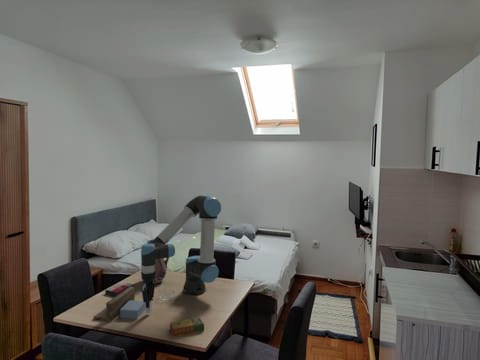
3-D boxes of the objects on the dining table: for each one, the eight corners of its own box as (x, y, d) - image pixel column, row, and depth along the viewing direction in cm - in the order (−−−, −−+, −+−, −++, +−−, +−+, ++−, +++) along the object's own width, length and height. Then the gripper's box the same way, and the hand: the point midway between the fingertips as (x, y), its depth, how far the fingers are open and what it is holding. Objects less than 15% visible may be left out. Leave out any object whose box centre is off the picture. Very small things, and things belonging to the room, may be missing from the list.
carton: (169, 329, 170) (169, 321, 170) (199, 324, 177) (199, 316, 176) (173, 337, 163) (173, 329, 162) (204, 331, 169) (204, 323, 169)
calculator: (104, 289, 213) (122, 280, 227) (105, 295, 214) (122, 286, 227) (117, 292, 208) (134, 283, 222) (117, 298, 209) (134, 289, 222)
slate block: (145, 309, 193) (145, 301, 192) (137, 319, 181) (137, 310, 181) (129, 308, 194) (129, 300, 193) (120, 318, 182) (120, 309, 182)
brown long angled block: (134, 303, 201) (134, 287, 200) (111, 321, 177) (111, 303, 177) (118, 301, 203) (118, 285, 202) (93, 319, 180) (93, 301, 179)
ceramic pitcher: (136, 281, 237) (136, 247, 236) (162, 274, 251) (162, 242, 250) (148, 288, 224) (148, 252, 223) (175, 280, 238) (175, 247, 237)
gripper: (148, 267, 192) (148, 306, 193) (136, 275, 179) (136, 317, 180) (159, 268, 190) (160, 308, 191) (148, 276, 177) (149, 318, 179)
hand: (148, 312), depth 186 cm, fingers closed
